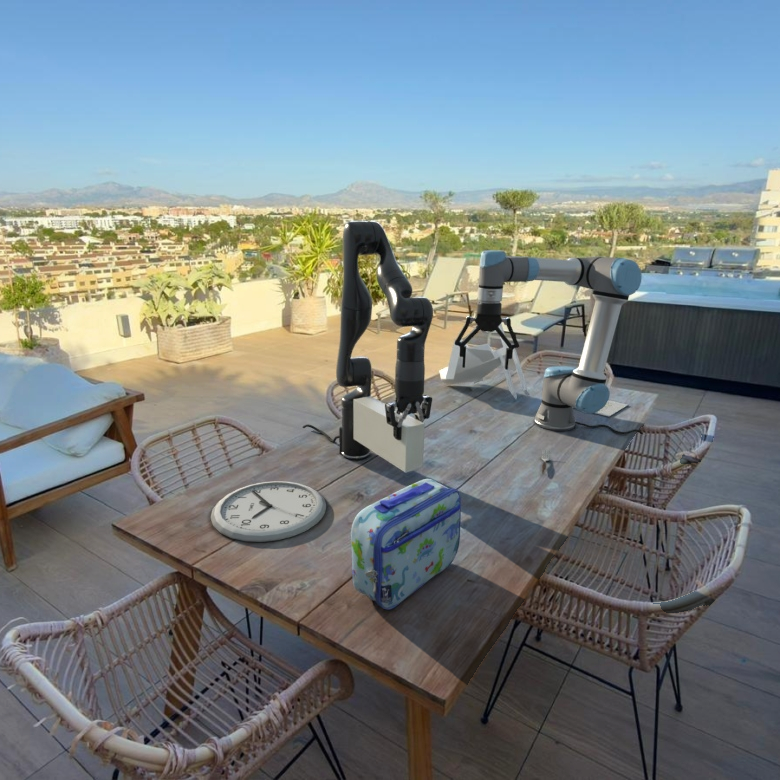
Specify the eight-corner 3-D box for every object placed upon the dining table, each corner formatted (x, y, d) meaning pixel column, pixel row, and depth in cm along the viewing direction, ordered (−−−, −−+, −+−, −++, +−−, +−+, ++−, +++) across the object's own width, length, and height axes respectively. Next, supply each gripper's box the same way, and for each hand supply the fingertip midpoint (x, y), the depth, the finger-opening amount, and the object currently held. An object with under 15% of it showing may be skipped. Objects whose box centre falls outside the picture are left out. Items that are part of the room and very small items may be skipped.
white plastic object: (461, 429, 252) (437, 405, 227) (444, 352, 274) (420, 323, 250) (535, 404, 240) (518, 377, 215) (510, 326, 262) (492, 293, 237)
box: (353, 438, 158) (353, 399, 154) (369, 434, 161) (370, 396, 157) (405, 472, 137) (406, 427, 133) (423, 467, 140) (424, 423, 137)
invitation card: (608, 416, 214) (573, 407, 224) (608, 416, 214) (573, 408, 224) (628, 404, 229) (594, 396, 238) (628, 405, 229) (594, 397, 238)
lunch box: (380, 623, 100) (381, 528, 94) (344, 596, 108) (343, 505, 101) (464, 565, 118) (470, 482, 112) (428, 545, 125) (432, 466, 119)
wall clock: (324, 533, 126) (196, 538, 124) (324, 539, 127) (197, 544, 124) (327, 477, 155) (224, 479, 152) (327, 482, 155) (224, 484, 153)
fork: (538, 474, 162) (538, 468, 162) (542, 454, 177) (542, 449, 176) (546, 475, 162) (547, 470, 161) (550, 455, 176) (550, 450, 175)
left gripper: (395, 383, 127) (393, 447, 132) (440, 375, 135) (437, 436, 140) (378, 376, 133) (377, 437, 138) (423, 368, 141) (420, 427, 146)
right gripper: (449, 302, 161) (445, 368, 167) (532, 304, 158) (525, 372, 164) (449, 298, 168) (446, 362, 174) (528, 301, 165) (522, 366, 171)
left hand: (408, 436), depth 139 cm, fingers closed on box, 6 cm apart
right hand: (484, 367), depth 169 cm, fingers open, 13 cm apart
